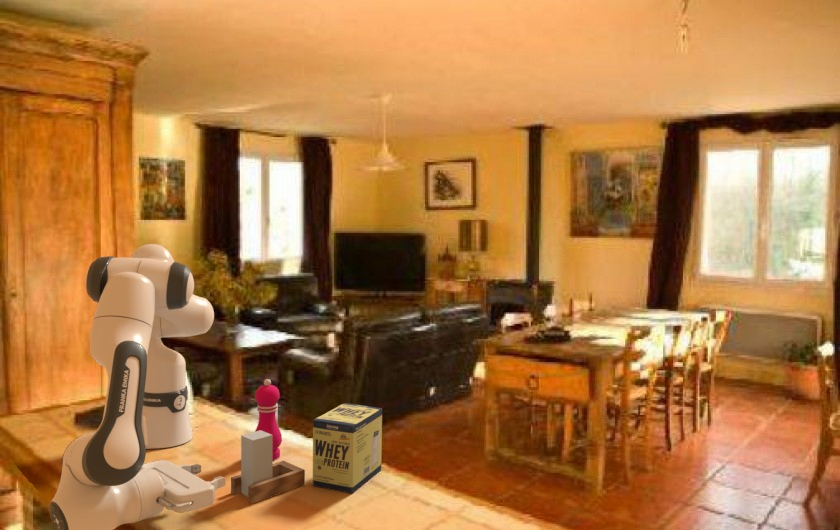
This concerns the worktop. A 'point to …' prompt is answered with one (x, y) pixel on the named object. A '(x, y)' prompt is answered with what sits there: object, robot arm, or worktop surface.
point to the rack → (272, 482)
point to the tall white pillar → (256, 459)
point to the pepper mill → (269, 413)
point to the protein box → (347, 447)
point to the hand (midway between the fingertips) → (211, 473)
